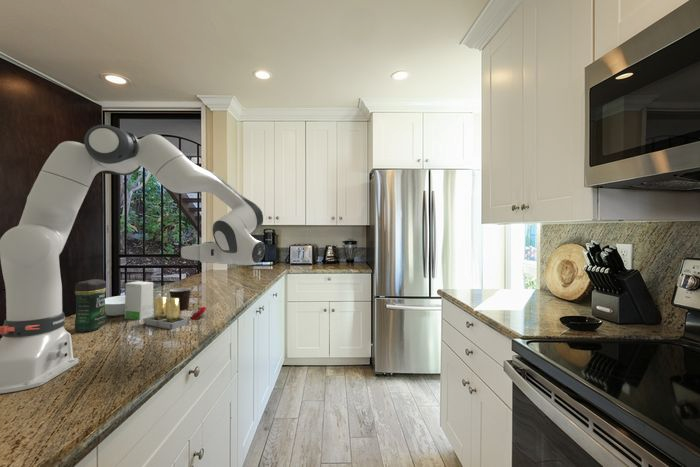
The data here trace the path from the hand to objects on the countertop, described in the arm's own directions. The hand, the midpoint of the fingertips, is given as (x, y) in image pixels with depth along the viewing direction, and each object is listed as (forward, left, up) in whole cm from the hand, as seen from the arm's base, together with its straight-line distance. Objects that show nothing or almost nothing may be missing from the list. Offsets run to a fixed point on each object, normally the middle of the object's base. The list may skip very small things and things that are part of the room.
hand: (195, 250), depth 121 cm
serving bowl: (+40, +32, -30) cm, 59 cm away
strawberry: (+18, 0, -30) cm, 35 cm away
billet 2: (+8, +9, -29) cm, 31 cm away
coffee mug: (+35, +10, -30) cm, 47 cm away
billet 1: (+14, +14, -29) cm, 35 cm away
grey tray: (+11, +11, -30) cm, 34 cm away
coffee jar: (+19, +38, -30) cm, 52 cm away
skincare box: (+27, +24, -30) cm, 47 cm away
